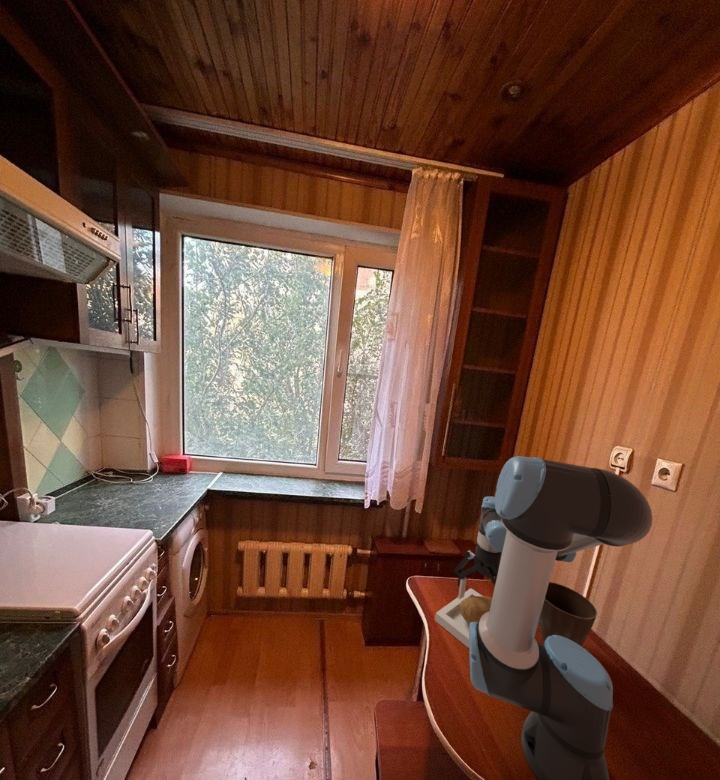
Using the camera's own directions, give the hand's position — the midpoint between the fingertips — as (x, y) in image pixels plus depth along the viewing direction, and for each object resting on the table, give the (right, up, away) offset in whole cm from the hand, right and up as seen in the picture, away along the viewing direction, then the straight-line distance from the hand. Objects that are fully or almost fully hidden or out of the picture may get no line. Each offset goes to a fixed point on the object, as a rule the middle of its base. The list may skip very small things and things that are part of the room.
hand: (480, 610), depth 97 cm
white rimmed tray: (-1, -5, 0) cm, 5 cm away
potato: (0, -4, 0) cm, 4 cm away
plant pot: (+22, -8, -6) cm, 24 cm away
